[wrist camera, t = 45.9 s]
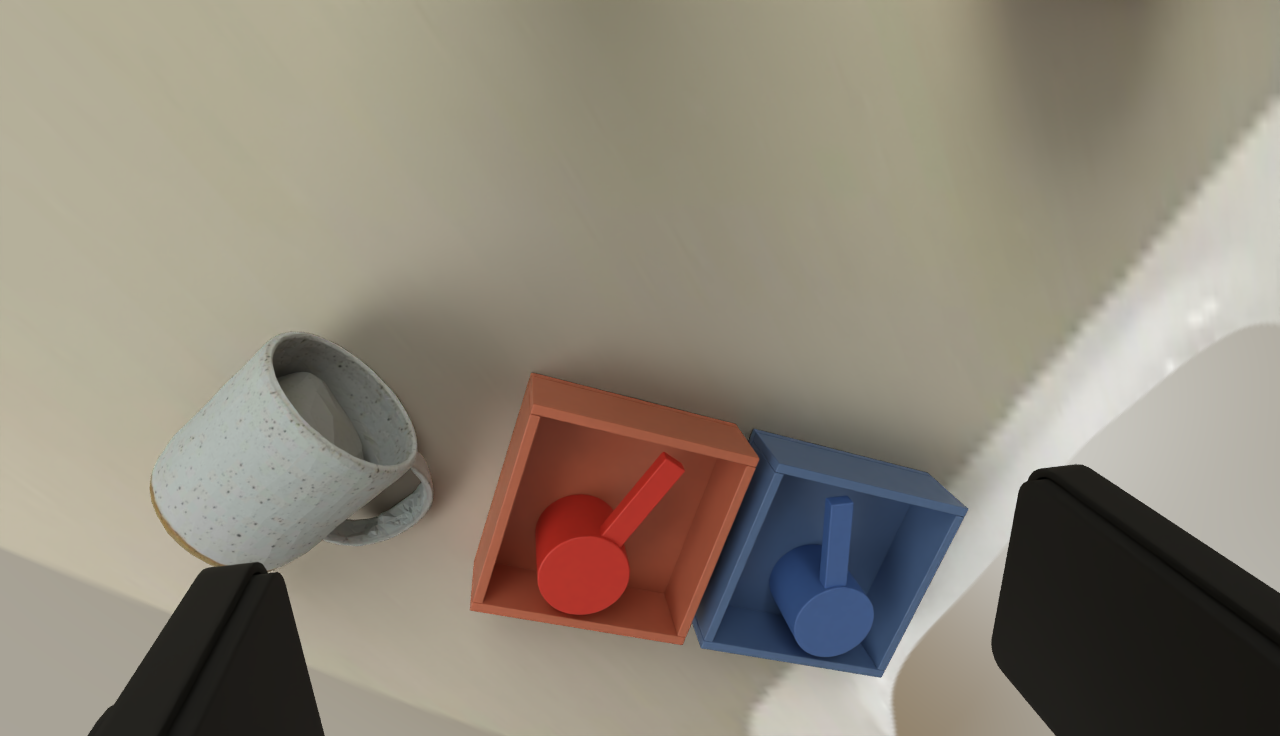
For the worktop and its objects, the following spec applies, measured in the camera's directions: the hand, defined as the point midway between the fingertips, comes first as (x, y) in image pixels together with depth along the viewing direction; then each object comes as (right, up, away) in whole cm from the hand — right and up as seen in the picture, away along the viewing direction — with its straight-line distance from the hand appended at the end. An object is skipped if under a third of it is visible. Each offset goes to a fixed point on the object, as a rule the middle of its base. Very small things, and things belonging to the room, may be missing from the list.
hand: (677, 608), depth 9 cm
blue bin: (+9, -7, +32) cm, 34 cm away
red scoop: (-2, -4, +28) cm, 29 cm away
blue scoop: (+9, -7, +31) cm, 33 cm away
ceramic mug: (-15, 0, +26) cm, 30 cm away
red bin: (-2, -4, +29) cm, 29 cm away
